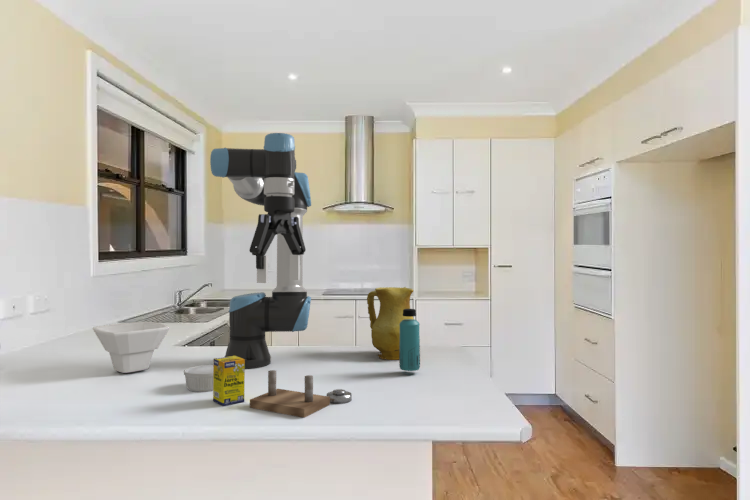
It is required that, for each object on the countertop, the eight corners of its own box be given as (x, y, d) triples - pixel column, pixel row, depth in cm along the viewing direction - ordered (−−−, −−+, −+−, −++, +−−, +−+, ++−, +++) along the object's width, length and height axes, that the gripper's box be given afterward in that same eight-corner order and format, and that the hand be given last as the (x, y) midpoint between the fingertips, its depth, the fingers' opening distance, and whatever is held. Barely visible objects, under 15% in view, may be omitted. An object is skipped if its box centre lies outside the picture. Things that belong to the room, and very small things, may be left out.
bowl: (175, 371, 165) (175, 326, 165) (110, 382, 151) (110, 334, 150) (149, 361, 178) (149, 320, 177) (86, 371, 163) (86, 327, 163)
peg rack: (249, 407, 128) (249, 374, 128) (277, 396, 138) (277, 365, 138) (304, 417, 121) (304, 382, 121) (329, 404, 130) (329, 372, 130)
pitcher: (385, 362, 175) (386, 287, 176) (361, 355, 192) (361, 286, 193) (429, 359, 183) (429, 287, 184) (401, 352, 200) (402, 286, 201)
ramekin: (182, 384, 149) (182, 366, 149) (223, 381, 153) (223, 362, 153) (185, 395, 139) (185, 375, 139) (228, 390, 143) (228, 371, 143)
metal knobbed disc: (321, 401, 133) (321, 392, 133) (334, 395, 139) (334, 386, 139) (343, 405, 130) (343, 395, 130) (356, 398, 136) (356, 389, 136)
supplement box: (223, 406, 129) (223, 362, 129) (212, 401, 133) (212, 358, 133) (245, 402, 133) (245, 358, 132) (234, 396, 137) (234, 355, 137)
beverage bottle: (418, 376, 159) (419, 310, 158) (397, 375, 160) (397, 309, 160) (421, 371, 165) (421, 307, 165) (400, 370, 166) (400, 307, 166)
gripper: (260, 190, 119) (260, 284, 119) (318, 199, 141) (318, 278, 141) (234, 192, 122) (233, 283, 122) (295, 200, 144) (295, 278, 144)
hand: (279, 281), depth 132 cm, fingers open, 13 cm apart
